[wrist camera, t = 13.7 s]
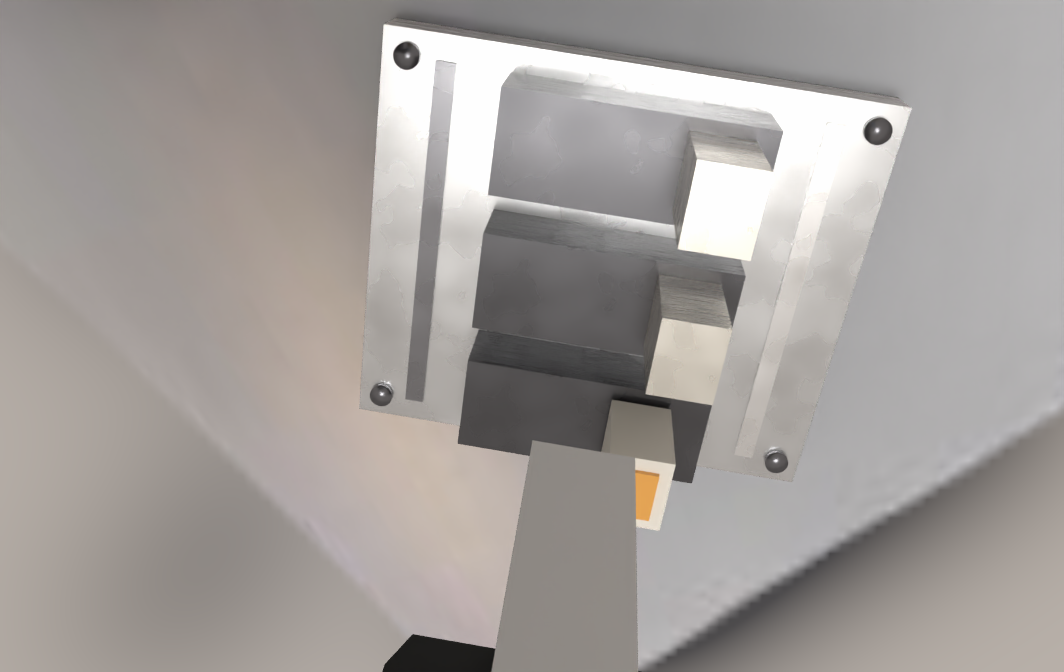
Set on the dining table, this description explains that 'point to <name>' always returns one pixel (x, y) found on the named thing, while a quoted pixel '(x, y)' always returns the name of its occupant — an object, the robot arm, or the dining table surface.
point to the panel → (477, 204)
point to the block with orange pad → (644, 454)
